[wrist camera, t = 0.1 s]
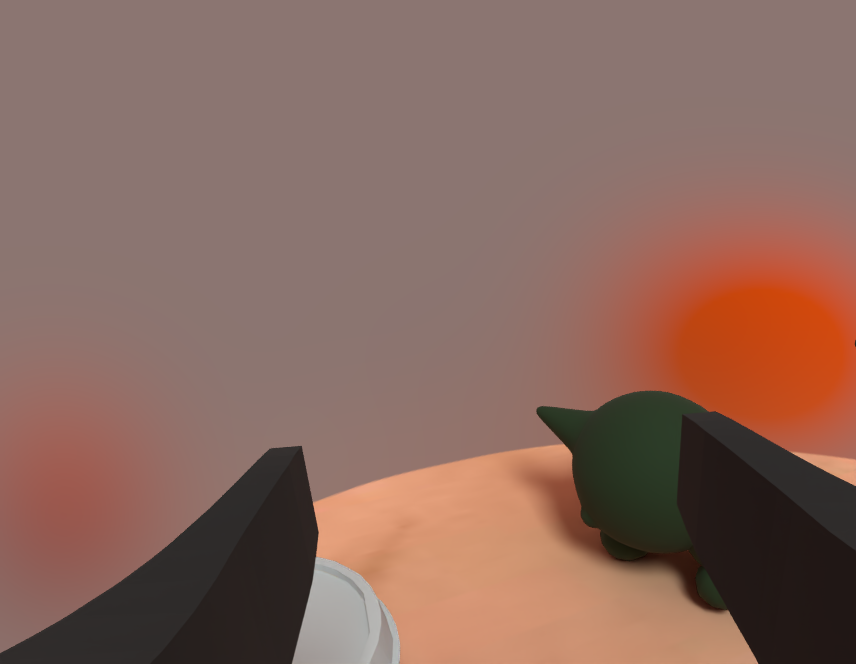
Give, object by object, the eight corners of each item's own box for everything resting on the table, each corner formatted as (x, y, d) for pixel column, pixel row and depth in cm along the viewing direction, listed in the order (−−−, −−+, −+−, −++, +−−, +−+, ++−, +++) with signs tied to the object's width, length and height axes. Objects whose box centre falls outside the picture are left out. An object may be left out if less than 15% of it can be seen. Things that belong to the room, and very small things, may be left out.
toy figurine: (984, 629, 36) (562, 481, 50) (1106, 300, 29) (575, 234, 43) (991, 768, 29) (499, 551, 43) (1154, 380, 22) (502, 271, 36)
